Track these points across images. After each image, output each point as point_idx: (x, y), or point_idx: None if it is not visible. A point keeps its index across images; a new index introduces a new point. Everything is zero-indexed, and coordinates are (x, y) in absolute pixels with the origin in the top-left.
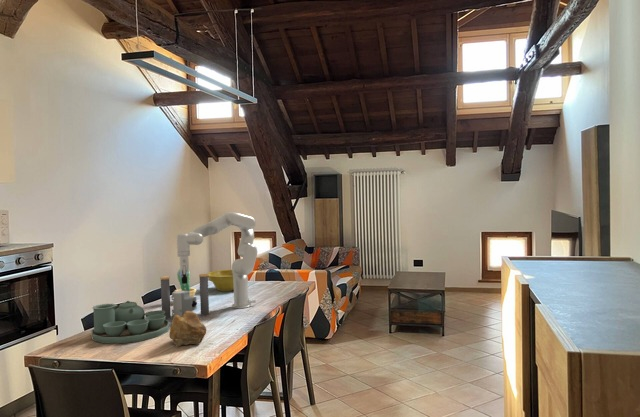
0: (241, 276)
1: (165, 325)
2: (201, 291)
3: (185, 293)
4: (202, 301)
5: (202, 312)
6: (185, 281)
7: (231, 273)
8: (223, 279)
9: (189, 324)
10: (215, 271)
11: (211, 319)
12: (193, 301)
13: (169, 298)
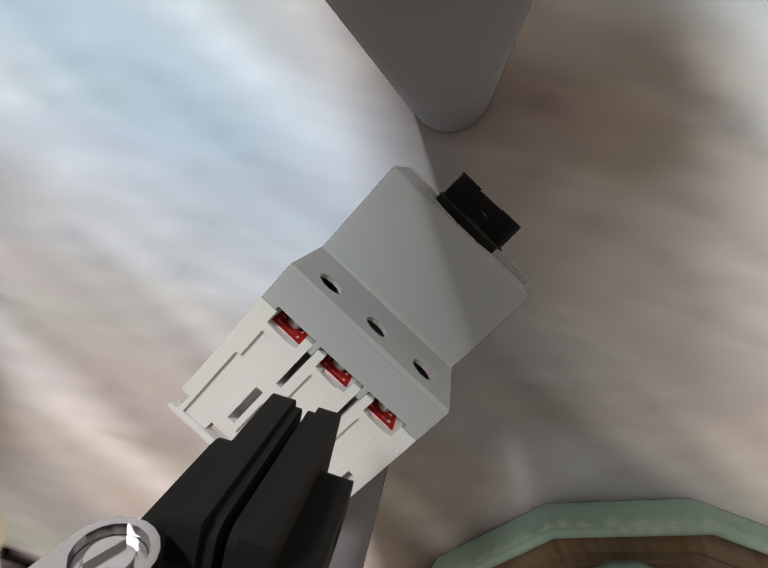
0: None
1: (757, 559)
2: (481, 74)
3: (404, 361)
4: (486, 97)
5: (475, 119)
6: (348, 493)
7: None
8: None
9: None
10: None
11: (725, 94)
12: (480, 233)
13: (346, 517)
